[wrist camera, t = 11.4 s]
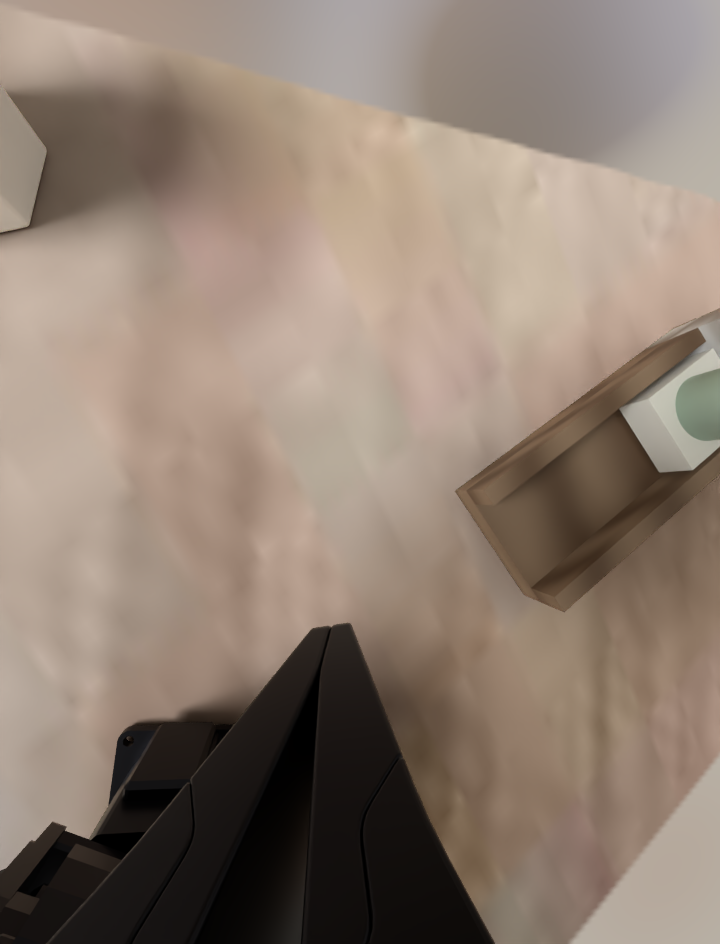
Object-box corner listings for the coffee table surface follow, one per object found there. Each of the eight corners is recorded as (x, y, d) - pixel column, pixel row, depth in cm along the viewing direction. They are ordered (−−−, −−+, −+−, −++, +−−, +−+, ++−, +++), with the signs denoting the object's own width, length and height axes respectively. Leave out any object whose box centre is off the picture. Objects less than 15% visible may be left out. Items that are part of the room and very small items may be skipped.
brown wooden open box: (524, 594, 23) (586, 621, 18) (455, 491, 23) (499, 489, 18) (729, 419, 27) (827, 402, 22) (673, 328, 27) (759, 290, 22)
